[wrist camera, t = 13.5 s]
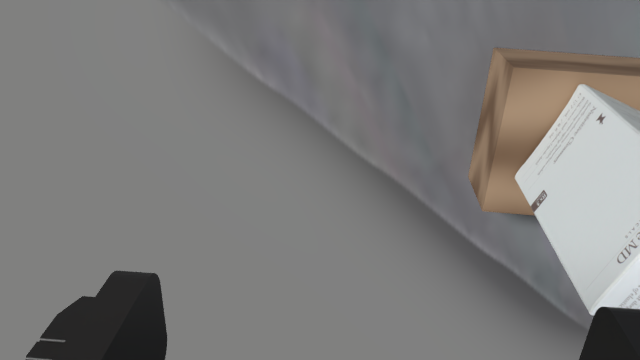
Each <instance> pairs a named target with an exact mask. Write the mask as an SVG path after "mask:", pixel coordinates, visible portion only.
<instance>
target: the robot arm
mask: <svg viewBox="0 0 640 360" xmlns="http://www.w3.org/2000/svg"><path fill="white" fill-rule="evenodd" d="M166 348H167V332H166V324H165V317H164V308H163V301H162V293H161V285H160V280H159V277H158V275H157V274H155V273H142V272H128V271H114V272H113V273H112V274H111V275H110V276H109V278H108V279H107V281H106V282H105V284H104V285H103V287H102V288H101V289H100V291H99V293H98V294H97V295H96V297H85V296H84V297H83V296H82V297H81V298H79V299H78V300H77V301H75V302H74V303H73V304H71V305H70V306H68V307H67V308H66V309H64V310H63V311H62V312H60V313H59V314H57V316H56V317H55V318H54V320H53V321H52V322H51V324H50V325H49V326H48V328H47V329H46V330H45V332H44V333H43V334H42V336H41V337H40V342H37V343H36V344H35V345H34V347H33V348H32V349H31V350H30V352H29V353H28V354H27V356H26V360H165V355H166ZM579 360H640V309H631V308H616V307H600V308H599V309H598V310H597V311H596V313H595V315H594V317H593V320H592V323H591V326H590V329H589V332H588V335H587V338H586V341H585V344H584V347H583V350H582V352H581V355H580V359H579Z"/></svg>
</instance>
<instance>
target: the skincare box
mask: <svg viewBox="0 0 640 360" xmlns="http://www.w3.org/2000/svg"><path fill="white" fill-rule="evenodd" d="M515 180H516V182H517V183H518V185H519V187H520V189H521V191H522V192H523V194H524V196H525V198H526V200H527V201H528V203H529V205H530V207H531V209H532V210H533V212H534V214H535V216H536V218H537V219H538V221H539V223H540V225H541V226H542V228H543V230H544V232H545V234H546V236H547V237H548V239H549V241H550V243H551V245H552V247H553V248H554V250H555V252H556V254H557V256H558V257H559V259H560V261H561V263H562V265H563V267H564V268H565V270H566V272H567V274H568V276H569V277H570V279H571V281H572V283H573V285H574V286H575V288H576V290H577V292H578V294H579V296H580V297H581V299H582V301H583V303H584V304H585V306H586V308H587V310H588V311H589V313H590V314H591V315H593V316H594V315H595V313H596V311H597V310H598V309H599V308H600V307H616V308H631V309H640V111H638V110H636V109H634V108H632V107H630V106H628V105H626V104H624V103H622V102H620V101H618V100H616V99H614V98H612V97H610V96H608V95H606V94H604V93H602V92H600V91H598V90H596V89H594V88H591V87H589V86H587V85H585V84H580V85H578V87H577V89H576V90H575V92H574V94H573V96H572V97H571V99H570V101H569V102H568V104H567V105H566V107H565V108H564V110H563V111H562V113H561V114H560V116H559V117H558V118H557V120H556V121H555V123H554V124H553V126H552V127H551V129H550V130H549V131H548V133H547V134H546V135H545V137H544V138H543V140H542V141H541V142H540V144H539V145H538V146H537V148H536V149H535V150H534V152H533V153H532V154H531V156H530V157H529V158H528V159H527V161H526V162H525V163H524V164H523V165H522V167H521V168H520V169H519V170H518V172H517V173H516V175H515Z"/></svg>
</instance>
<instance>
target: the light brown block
mask: <svg viewBox="0 0 640 360" xmlns="http://www.w3.org/2000/svg"><path fill="white" fill-rule="evenodd" d="M580 84H585V85H587V86H589V87H591V88H594V89H596V90H598V91H600V92H602V93H604V94H606V95H608V96H610V97H612V98H614V99H616V100H618V101H620V102H622V103H624V104H626V105H628V106H630V107H632V108H634V109H636V110H638V111H640V58H630V57H616V56H603V55H589V54H575V53H561V52H547V51H533V50H519V49H505V48H494V50H493V55H492V60H491V65H490V70H489V75H488V80H487V85H486V90H485V95H484V100H483V105H482V110H481V115H480V120H479V125H478V130H477V135H476V140H475V145H474V150H473V155H472V160H471V166H470V171H469V176H468V177H469V180H470V182H471V185H472V187H473V189H474V192H475V194H476V197H477V199H478V202H479V204H480V206H481V209H482V211H488V212H500V213H512V214H524V215H535V214H534V212H533V210H532V209H531V207H530V205H529V203H528V201H527V200H526V198H525V196H524V194H523V192H522V191H521V189H520V187H519V185H518V183H517V182H516V180H515V175H516V173H517V172H518V170H519V169H520V168H521V167H522V165H523V164H524V163H525V162H526V161H527V159H528V158H529V157H530V156H531V154H532V153H533V152H534V150H535V149H536V148H537V146H538V145H539V144H540V142H541V141H542V140H543V138H544V137H545V135H546V134H547V133H548V131H549V130H550V129H551V127H552V126H553V124H554V123H555V121H556V120H557V118H558V117H559V116H560V114H561V113H562V111H563V110H564V108H565V107H566V105H567V104H568V102H569V101H570V99H571V97H572V96H573V94H574V92H575V90H576V89H577V87H578V85H580Z"/></svg>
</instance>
